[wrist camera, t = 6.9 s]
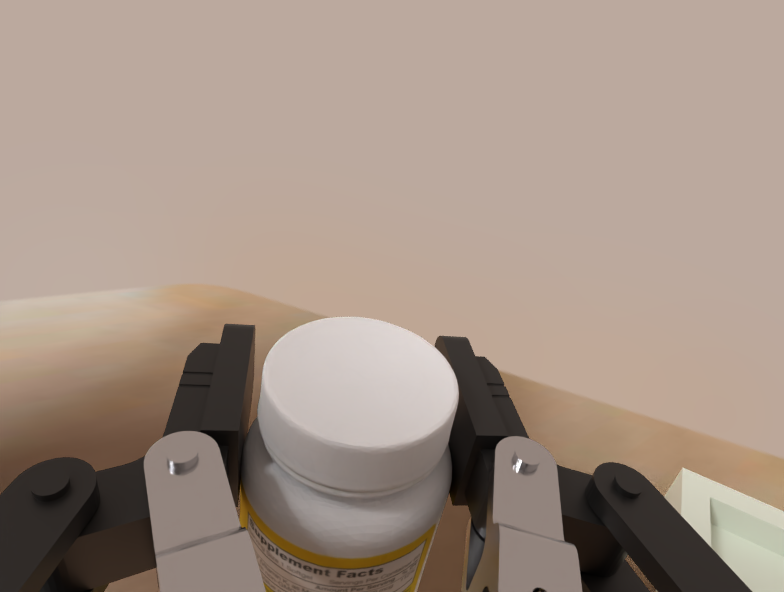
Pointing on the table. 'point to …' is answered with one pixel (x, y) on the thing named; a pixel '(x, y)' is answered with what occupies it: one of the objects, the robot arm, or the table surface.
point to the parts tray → (734, 528)
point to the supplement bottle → (348, 457)
